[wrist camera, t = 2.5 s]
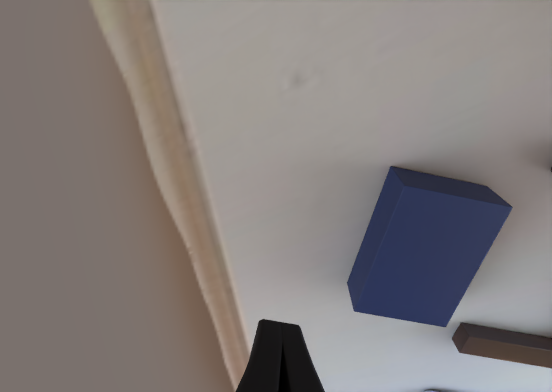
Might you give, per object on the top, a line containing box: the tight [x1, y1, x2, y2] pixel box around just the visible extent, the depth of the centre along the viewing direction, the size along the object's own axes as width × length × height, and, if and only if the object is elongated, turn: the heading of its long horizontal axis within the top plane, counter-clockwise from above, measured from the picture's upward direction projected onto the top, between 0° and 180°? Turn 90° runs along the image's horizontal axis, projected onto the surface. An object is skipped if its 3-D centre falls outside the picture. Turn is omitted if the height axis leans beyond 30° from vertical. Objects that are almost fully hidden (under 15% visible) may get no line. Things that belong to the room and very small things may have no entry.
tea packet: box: [347, 166, 513, 327], centre depth 20 cm, size 8×6×2 cm
